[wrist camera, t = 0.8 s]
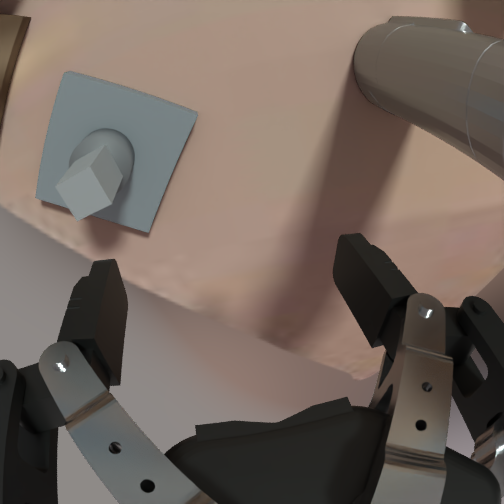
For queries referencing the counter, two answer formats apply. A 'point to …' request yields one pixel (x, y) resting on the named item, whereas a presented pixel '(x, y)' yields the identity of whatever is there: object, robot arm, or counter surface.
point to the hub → (110, 150)
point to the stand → (9, 50)
